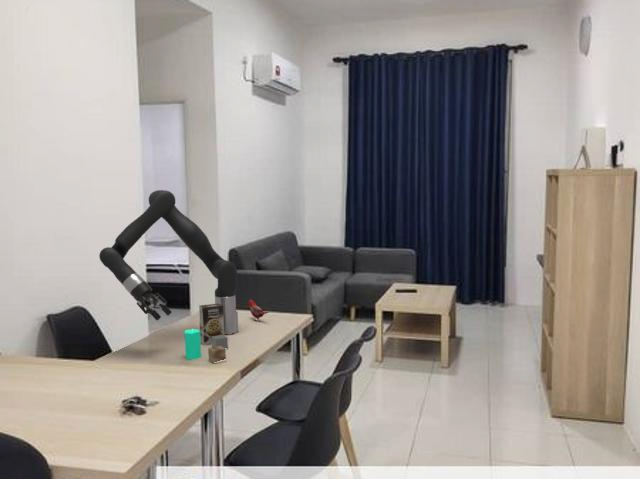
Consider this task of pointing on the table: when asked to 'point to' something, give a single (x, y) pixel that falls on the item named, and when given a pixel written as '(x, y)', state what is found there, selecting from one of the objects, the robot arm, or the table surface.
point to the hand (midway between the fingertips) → (164, 316)
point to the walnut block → (216, 353)
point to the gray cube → (219, 341)
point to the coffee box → (211, 322)
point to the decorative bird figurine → (255, 310)
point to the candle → (192, 344)
